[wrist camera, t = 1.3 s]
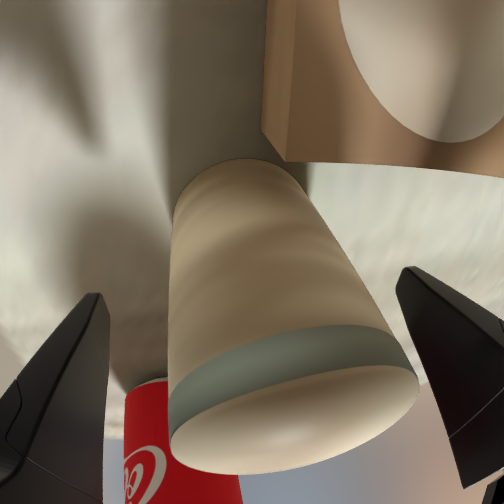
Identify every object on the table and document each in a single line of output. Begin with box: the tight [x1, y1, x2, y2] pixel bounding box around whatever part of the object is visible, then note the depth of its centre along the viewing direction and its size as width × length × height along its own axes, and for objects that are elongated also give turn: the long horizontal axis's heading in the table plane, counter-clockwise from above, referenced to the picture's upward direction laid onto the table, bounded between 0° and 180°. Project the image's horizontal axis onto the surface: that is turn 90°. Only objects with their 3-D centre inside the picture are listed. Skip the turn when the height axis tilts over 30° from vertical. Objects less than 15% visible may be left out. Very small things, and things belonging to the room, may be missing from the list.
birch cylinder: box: [168, 159, 420, 475], centre depth 9 cm, size 5×5×8 cm
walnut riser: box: [261, 0, 504, 178], centre depth 7 cm, size 9×9×3 cm
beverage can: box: [124, 377, 243, 504], centre depth 13 cm, size 6×6×12 cm
